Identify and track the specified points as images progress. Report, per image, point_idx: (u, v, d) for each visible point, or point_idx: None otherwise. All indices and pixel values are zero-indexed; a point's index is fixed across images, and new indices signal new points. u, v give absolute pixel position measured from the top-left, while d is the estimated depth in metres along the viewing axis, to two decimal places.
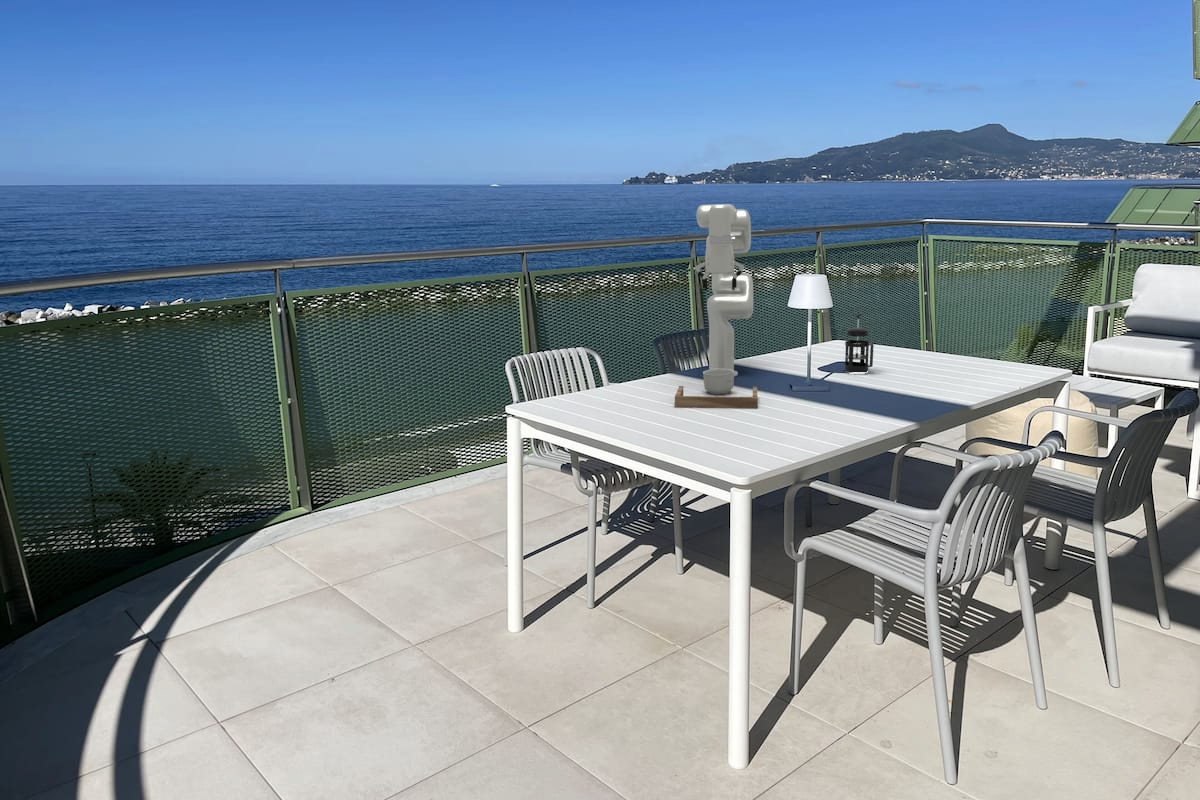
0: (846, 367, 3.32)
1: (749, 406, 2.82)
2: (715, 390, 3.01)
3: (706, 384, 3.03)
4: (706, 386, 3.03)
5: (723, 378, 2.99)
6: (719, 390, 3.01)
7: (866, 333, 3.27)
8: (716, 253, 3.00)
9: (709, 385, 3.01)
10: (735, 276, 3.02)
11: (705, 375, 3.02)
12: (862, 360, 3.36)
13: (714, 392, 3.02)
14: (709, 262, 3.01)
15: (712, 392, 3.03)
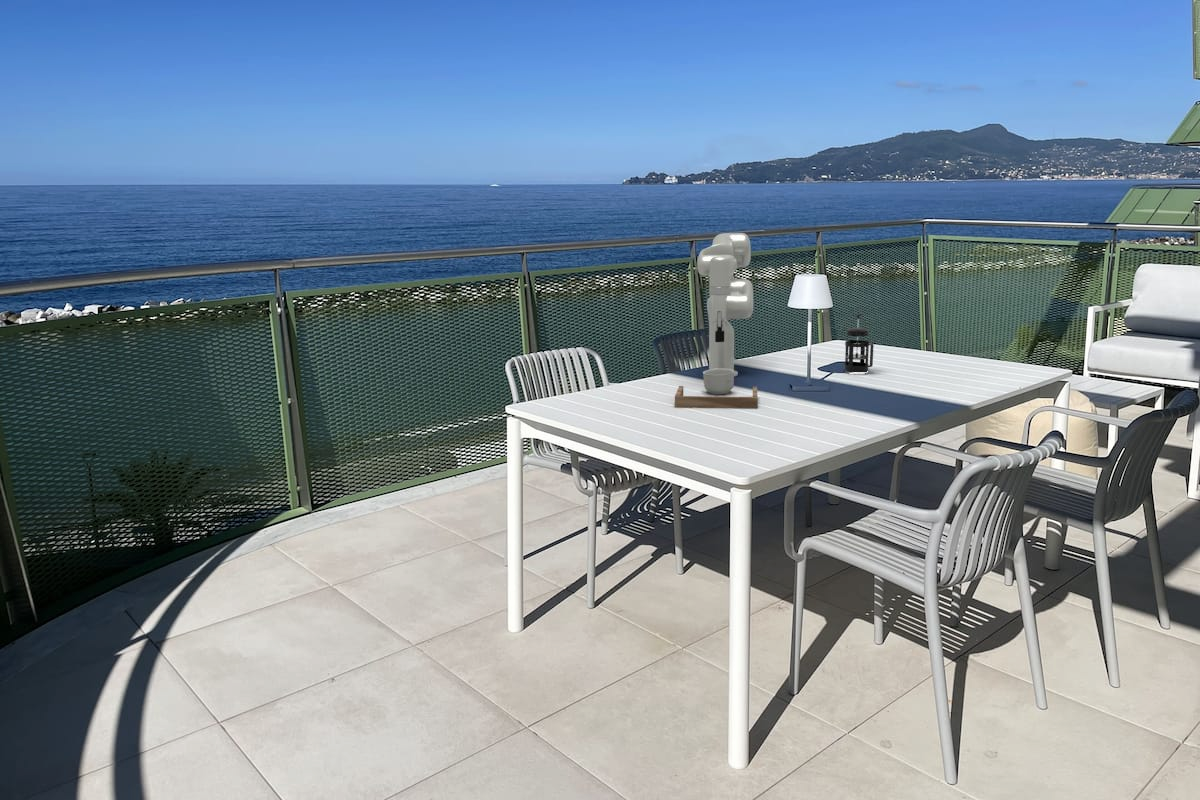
0: (846, 367, 3.32)
1: (749, 406, 2.82)
2: (715, 390, 3.01)
3: (706, 384, 3.03)
4: (706, 386, 3.03)
5: (723, 378, 2.99)
6: (719, 390, 3.01)
7: (866, 333, 3.27)
8: (726, 303, 3.09)
9: (709, 385, 3.01)
10: None
11: (705, 375, 3.02)
12: (862, 360, 3.36)
13: (714, 392, 3.02)
14: (725, 312, 3.07)
15: (712, 392, 3.03)
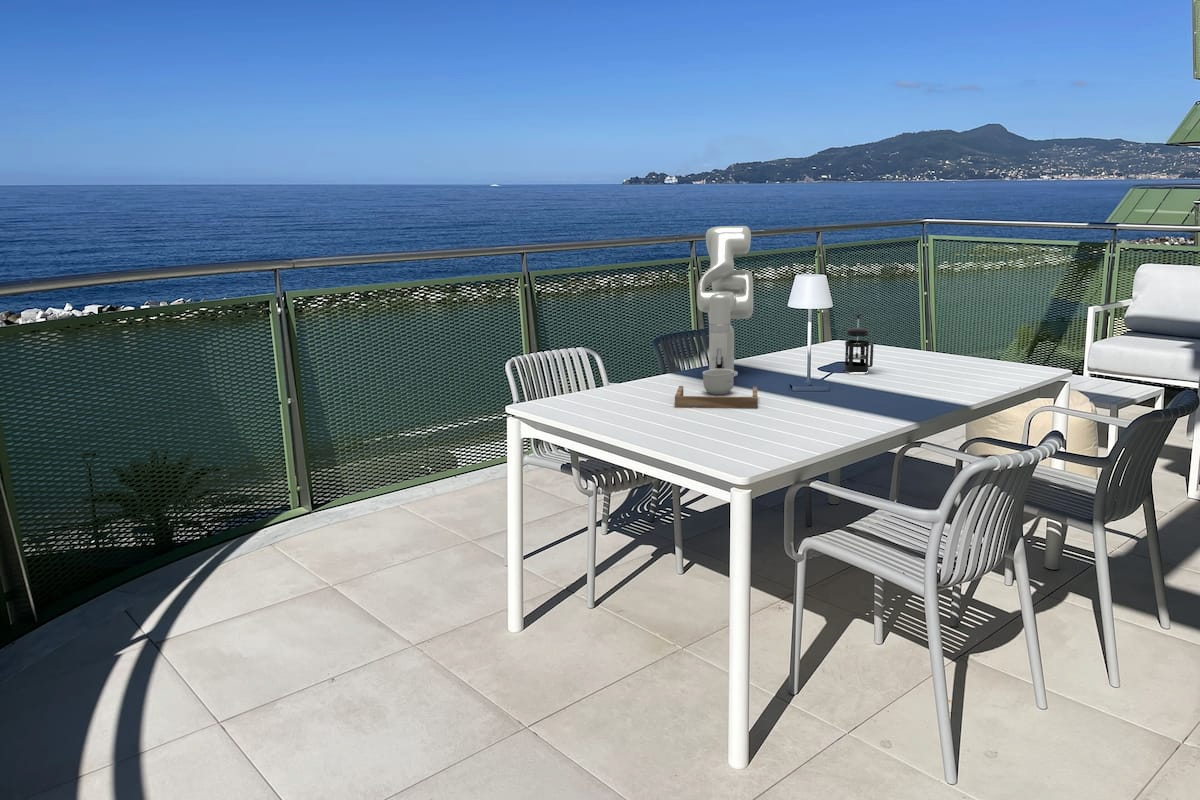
0: (846, 367, 3.32)
1: (749, 406, 2.82)
2: (715, 390, 3.00)
3: (706, 384, 3.02)
4: (706, 386, 3.03)
5: (723, 378, 2.99)
6: (719, 390, 3.00)
7: (866, 333, 3.27)
8: (726, 340, 3.10)
9: (709, 385, 3.01)
10: (723, 364, 3.15)
11: (705, 375, 3.02)
12: (862, 360, 3.36)
13: (714, 392, 3.02)
14: (725, 349, 3.08)
15: (712, 392, 3.02)
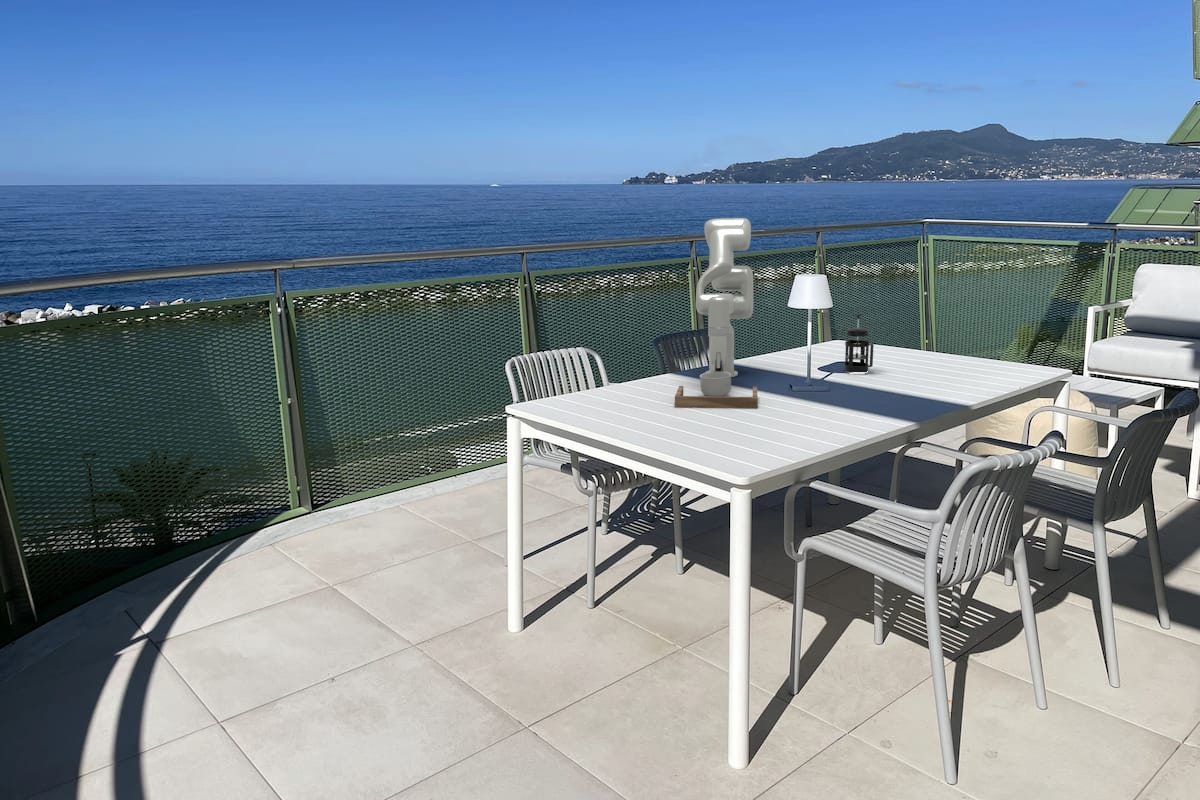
0: (846, 367, 3.32)
1: (749, 406, 2.82)
2: (714, 394, 2.95)
3: (704, 388, 2.96)
4: (704, 390, 2.97)
5: (722, 381, 2.94)
6: (718, 394, 2.95)
7: (866, 333, 3.27)
8: (725, 344, 3.03)
9: (707, 389, 2.95)
10: None
11: (703, 379, 2.96)
12: (862, 360, 3.36)
13: None
14: (724, 353, 3.02)
15: None
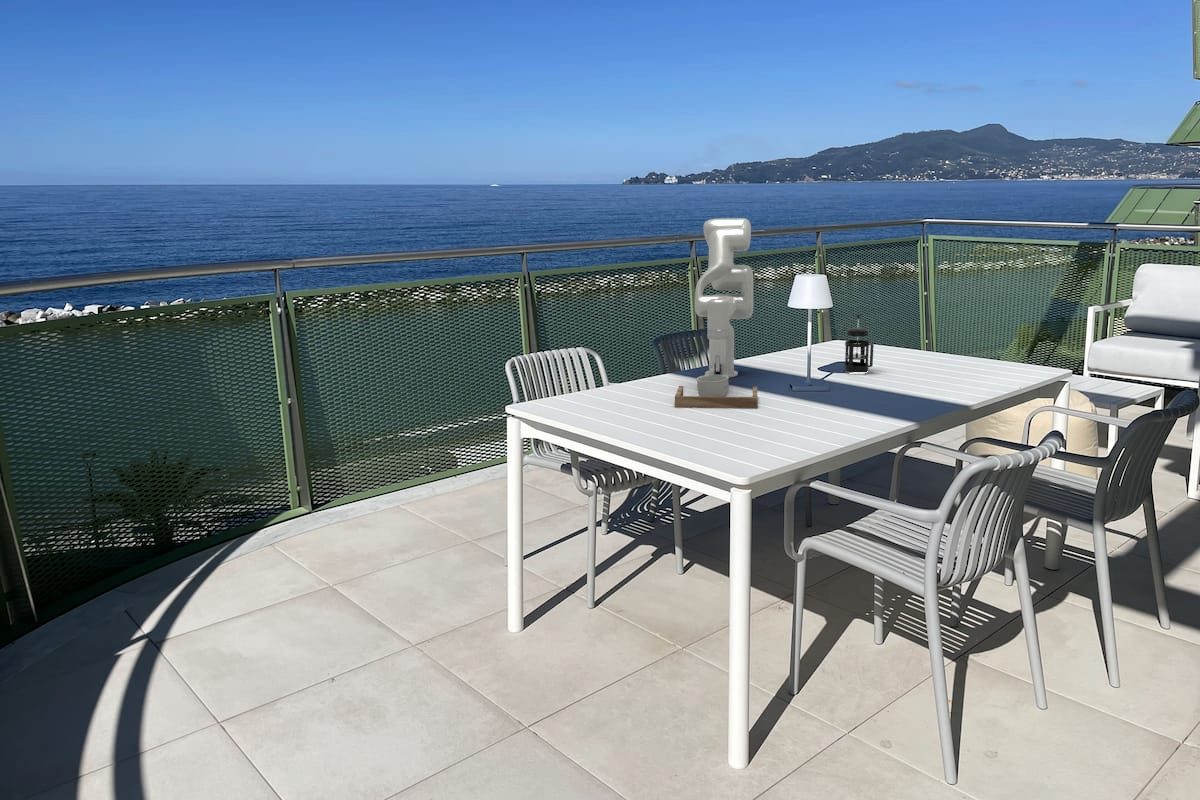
0: (846, 367, 3.32)
1: (749, 406, 2.82)
2: None
3: (702, 391, 2.91)
4: (701, 393, 2.91)
5: (720, 384, 2.89)
6: None
7: (866, 333, 3.27)
8: (725, 347, 2.97)
9: (705, 392, 2.90)
10: None
11: (701, 382, 2.90)
12: (862, 360, 3.36)
13: None
14: (724, 356, 2.96)
15: None
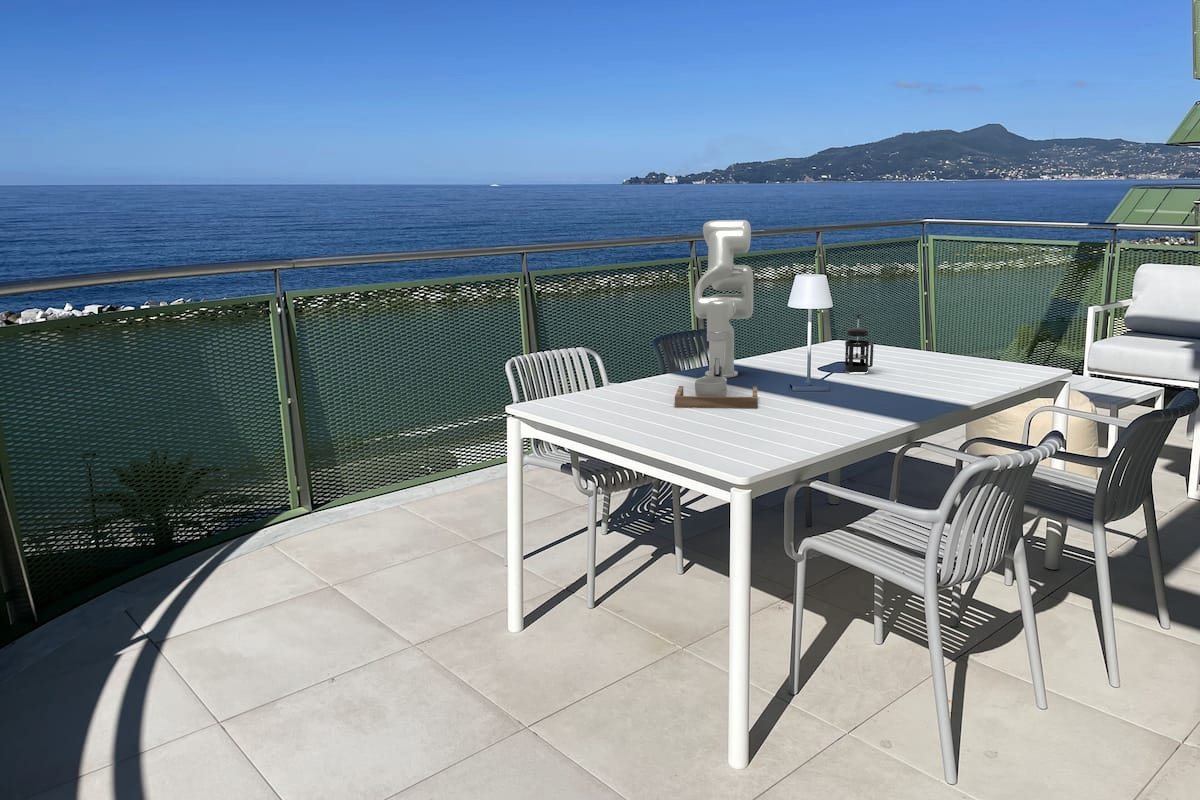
0: (846, 367, 3.32)
1: (749, 406, 2.82)
2: None
3: (699, 394, 2.88)
4: None
5: (718, 387, 2.85)
6: None
7: (866, 333, 3.27)
8: None
9: (703, 394, 2.87)
10: None
11: (698, 384, 2.87)
12: (862, 360, 3.36)
13: None
14: (724, 358, 2.92)
15: None
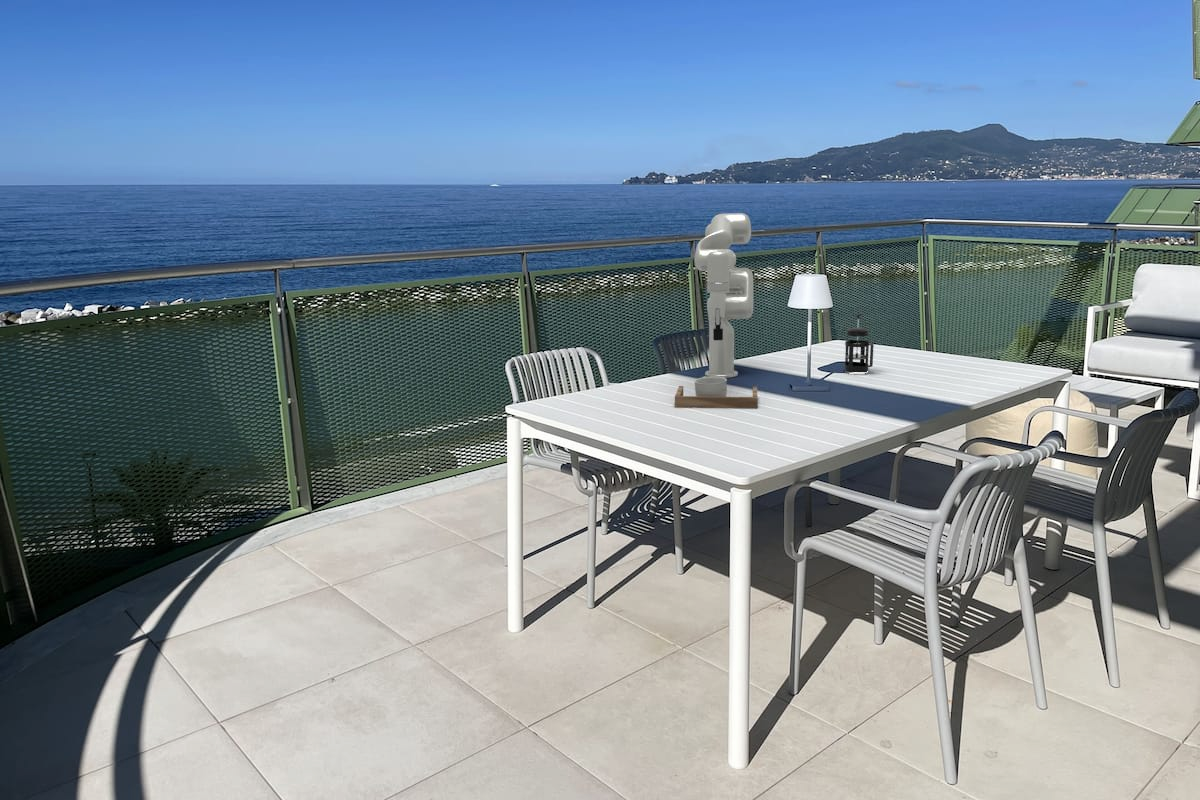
0: (846, 367, 3.32)
1: (749, 406, 2.82)
2: None
3: (699, 394, 2.88)
4: None
5: (718, 387, 2.85)
6: None
7: (866, 333, 3.27)
8: (725, 300, 2.96)
9: (703, 395, 2.87)
10: None
11: (698, 384, 2.87)
12: (862, 360, 3.36)
13: None
14: (724, 309, 2.95)
15: None
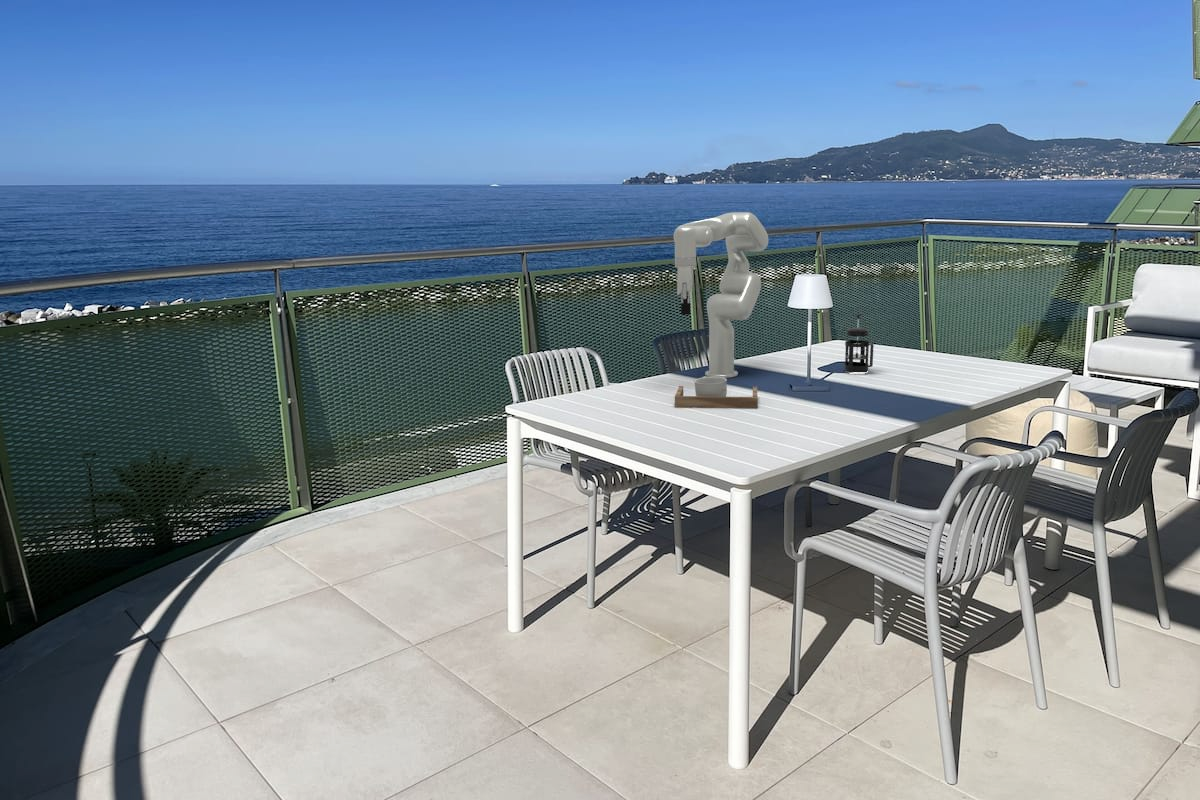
0: (846, 367, 3.32)
1: (749, 406, 2.82)
2: None
3: (699, 394, 2.88)
4: None
5: (718, 387, 2.85)
6: None
7: (866, 333, 3.27)
8: (692, 275, 3.04)
9: (703, 395, 2.87)
10: (689, 300, 3.09)
11: (698, 384, 2.87)
12: (862, 360, 3.36)
13: None
14: (691, 283, 3.02)
15: None
